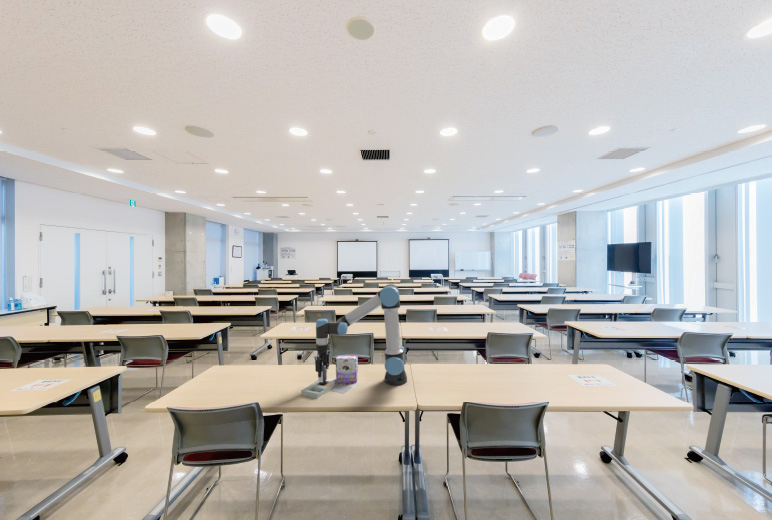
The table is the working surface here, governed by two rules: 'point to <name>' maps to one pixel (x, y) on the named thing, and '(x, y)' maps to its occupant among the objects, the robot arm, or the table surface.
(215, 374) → the table surface
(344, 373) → the candy box
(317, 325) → the robot arm
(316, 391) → the port box
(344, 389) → the mat
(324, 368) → the plug
